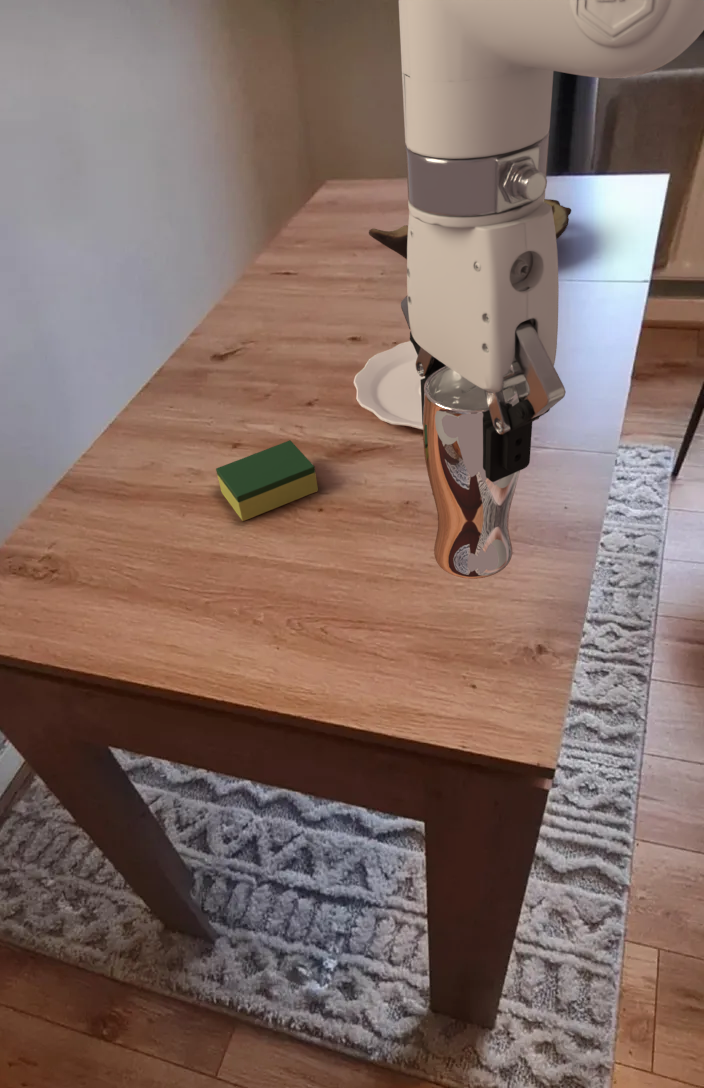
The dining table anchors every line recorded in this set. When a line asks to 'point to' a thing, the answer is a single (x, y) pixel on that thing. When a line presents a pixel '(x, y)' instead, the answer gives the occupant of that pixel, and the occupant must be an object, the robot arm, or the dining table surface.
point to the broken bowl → (400, 236)
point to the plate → (392, 386)
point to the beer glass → (465, 477)
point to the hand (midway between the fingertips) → (473, 444)
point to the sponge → (267, 480)
